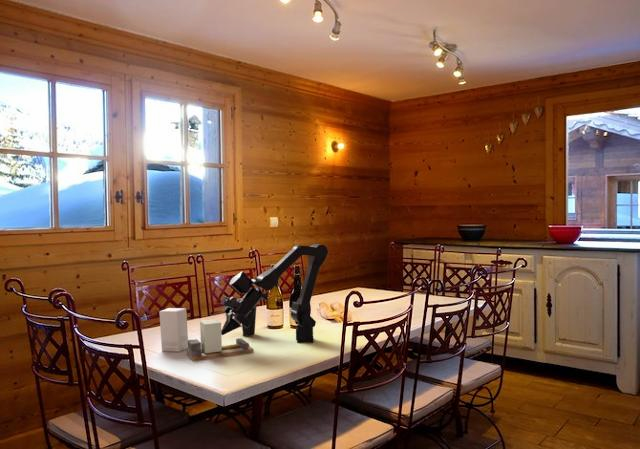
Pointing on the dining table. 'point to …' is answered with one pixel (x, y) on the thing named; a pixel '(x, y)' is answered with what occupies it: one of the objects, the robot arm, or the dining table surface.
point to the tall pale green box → (211, 335)
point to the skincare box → (174, 329)
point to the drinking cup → (251, 329)
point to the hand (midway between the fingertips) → (221, 334)
